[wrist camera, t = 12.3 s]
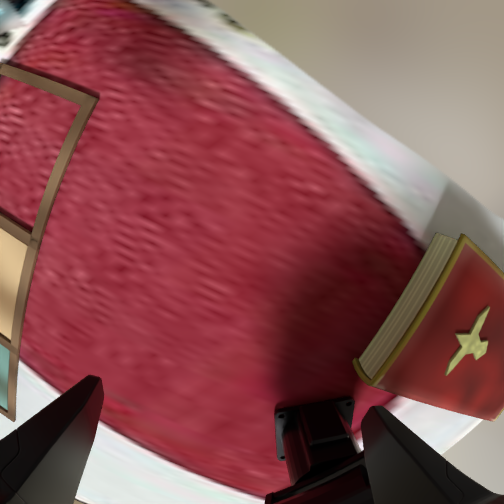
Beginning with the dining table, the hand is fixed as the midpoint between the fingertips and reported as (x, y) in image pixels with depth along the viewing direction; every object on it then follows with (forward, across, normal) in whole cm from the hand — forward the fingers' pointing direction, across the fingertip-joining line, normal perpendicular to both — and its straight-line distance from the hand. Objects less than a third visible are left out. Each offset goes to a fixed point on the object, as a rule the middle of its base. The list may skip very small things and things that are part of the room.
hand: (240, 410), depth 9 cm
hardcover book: (+12, -22, +4) cm, 25 cm away
